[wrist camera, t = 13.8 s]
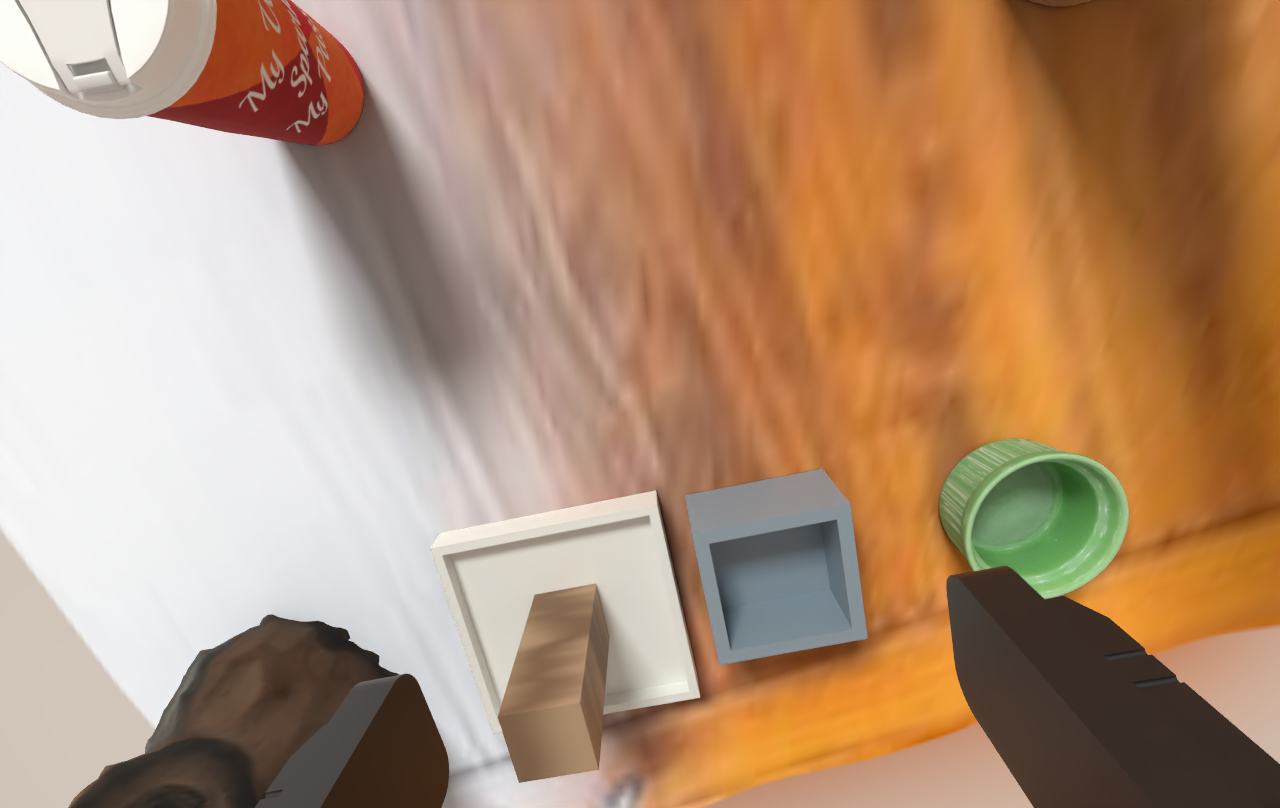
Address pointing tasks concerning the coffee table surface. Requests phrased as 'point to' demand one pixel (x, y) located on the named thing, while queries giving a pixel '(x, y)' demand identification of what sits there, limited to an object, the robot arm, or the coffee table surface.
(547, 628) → the walnut peg
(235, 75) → the paper cup
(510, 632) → the cream tray
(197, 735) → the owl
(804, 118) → the coffee table surface
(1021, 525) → the ramekin
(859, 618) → the blue-grey open box
